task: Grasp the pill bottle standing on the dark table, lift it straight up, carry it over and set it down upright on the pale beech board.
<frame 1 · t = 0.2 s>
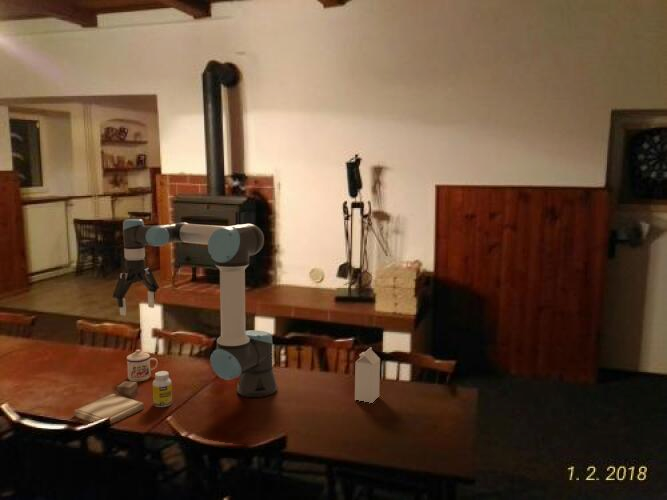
hand: (137, 311, 215), 28 cm above the table, fingers open, 13 cm apart
milk carton: (367, 399, 200), on the table
teacup with lid: (143, 377, 219), on the table
beech board: (109, 412, 188), on the table
pill bottle: (163, 404, 195), on the table
walnut cube: (127, 396, 201), on the table
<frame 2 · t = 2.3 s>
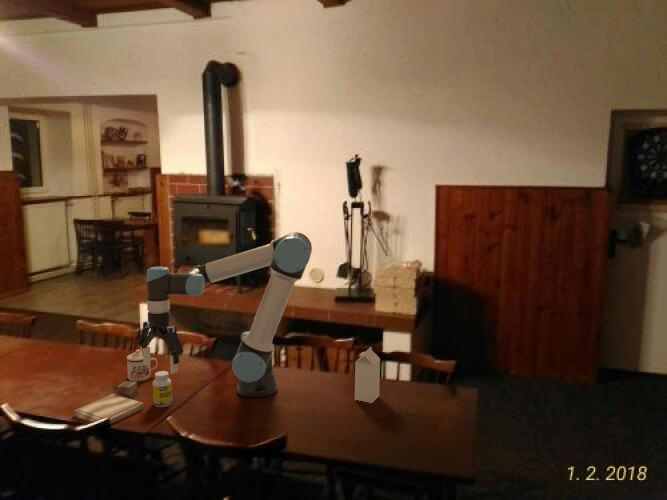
hand: (160, 368, 193), 13 cm above the table, fingers open, 13 cm apart
nothing on the table moved.
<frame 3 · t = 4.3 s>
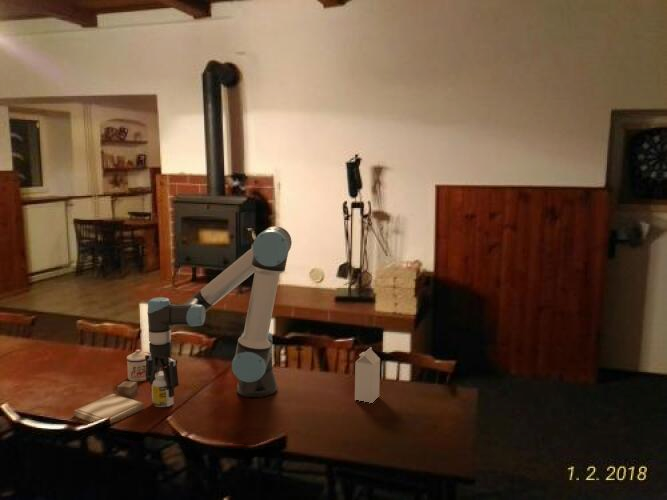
hand: (162, 402, 195), 0 cm above the table, fingers closed on pill bottle, 6 cm apart
pill bottle: (163, 404, 195), on the table, touching gripper
everything else where it was.
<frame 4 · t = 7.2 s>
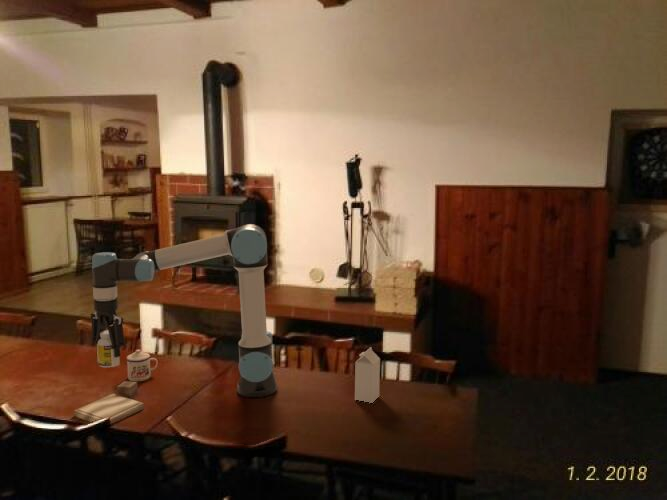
hand: (108, 363, 186), 18 cm above the table, fingers closed on pill bottle, 6 cm apart
pill bottle: (108, 365, 186), point 17 cm above the table, touching gripper
everything else where it was.
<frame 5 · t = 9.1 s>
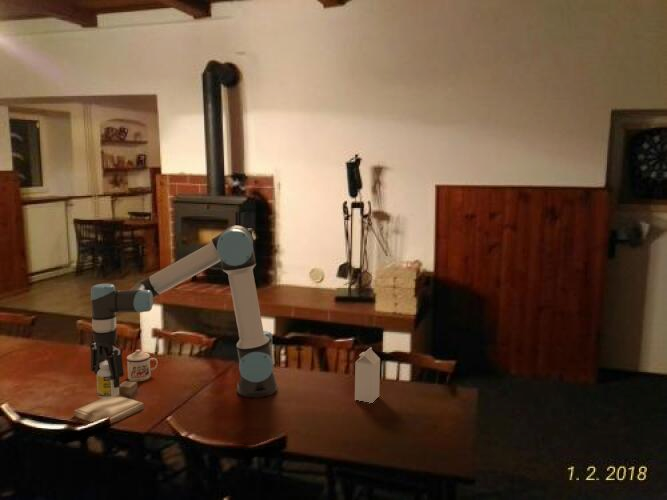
hand: (108, 393, 187), 7 cm above the table, fingers closed on pill bottle, 6 cm apart
pill bottle: (108, 395, 187), point 6 cm above the table, touching gripper
everything else where it was.
when the fingers open (4 cm above the table, at t = 10.4 s): pill bottle drops 2 cm, resting on beech board.
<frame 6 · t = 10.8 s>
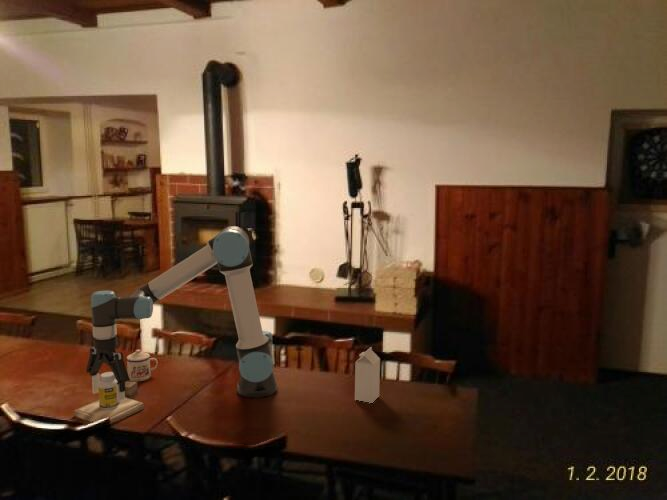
hand: (108, 396, 187), 6 cm above the table, fingers open, 12 cm apart
pill bottle: (109, 406, 187), point 2 cm above the table, touching beech board
everything else where it was.
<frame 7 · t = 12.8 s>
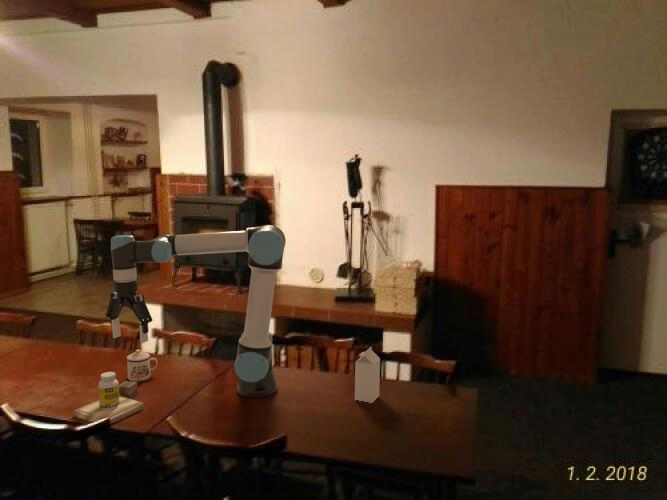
hand: (130, 339, 189), 25 cm above the table, fingers open, 13 cm apart
nothing on the table moved.
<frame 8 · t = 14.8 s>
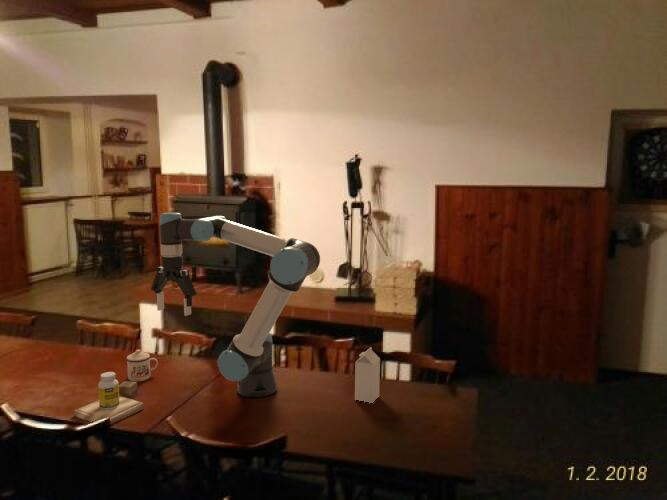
hand: (174, 312, 198), 32 cm above the table, fingers open, 13 cm apart
nothing on the table moved.
at the end: pill bottle inside the target area on the beech board (0.1 cm from its centre), point 2.1 cm above the beech board's base; pill bottle tilted 0°; the gripper is holding nothing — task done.
